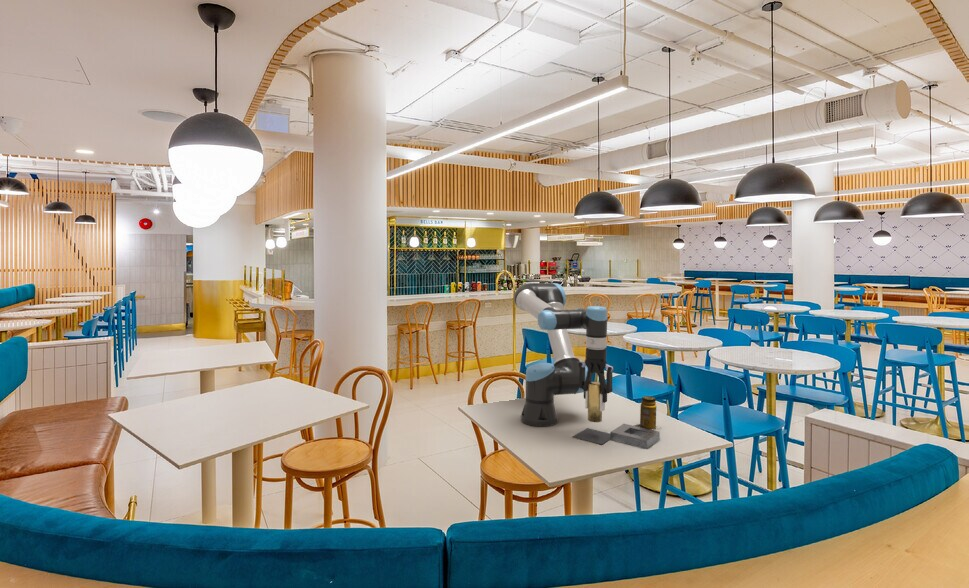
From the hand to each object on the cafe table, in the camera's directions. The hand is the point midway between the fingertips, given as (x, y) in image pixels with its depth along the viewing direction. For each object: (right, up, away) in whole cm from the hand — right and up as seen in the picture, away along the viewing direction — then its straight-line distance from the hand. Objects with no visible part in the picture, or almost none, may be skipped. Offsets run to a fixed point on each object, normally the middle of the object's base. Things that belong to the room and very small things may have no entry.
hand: (595, 408), depth 187 cm
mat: (0, -11, +1) cm, 11 cm away
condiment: (+23, -10, +12) cm, 28 cm away
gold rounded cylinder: (0, -4, 0) cm, 4 cm away
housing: (+14, -11, -2) cm, 18 cm away
